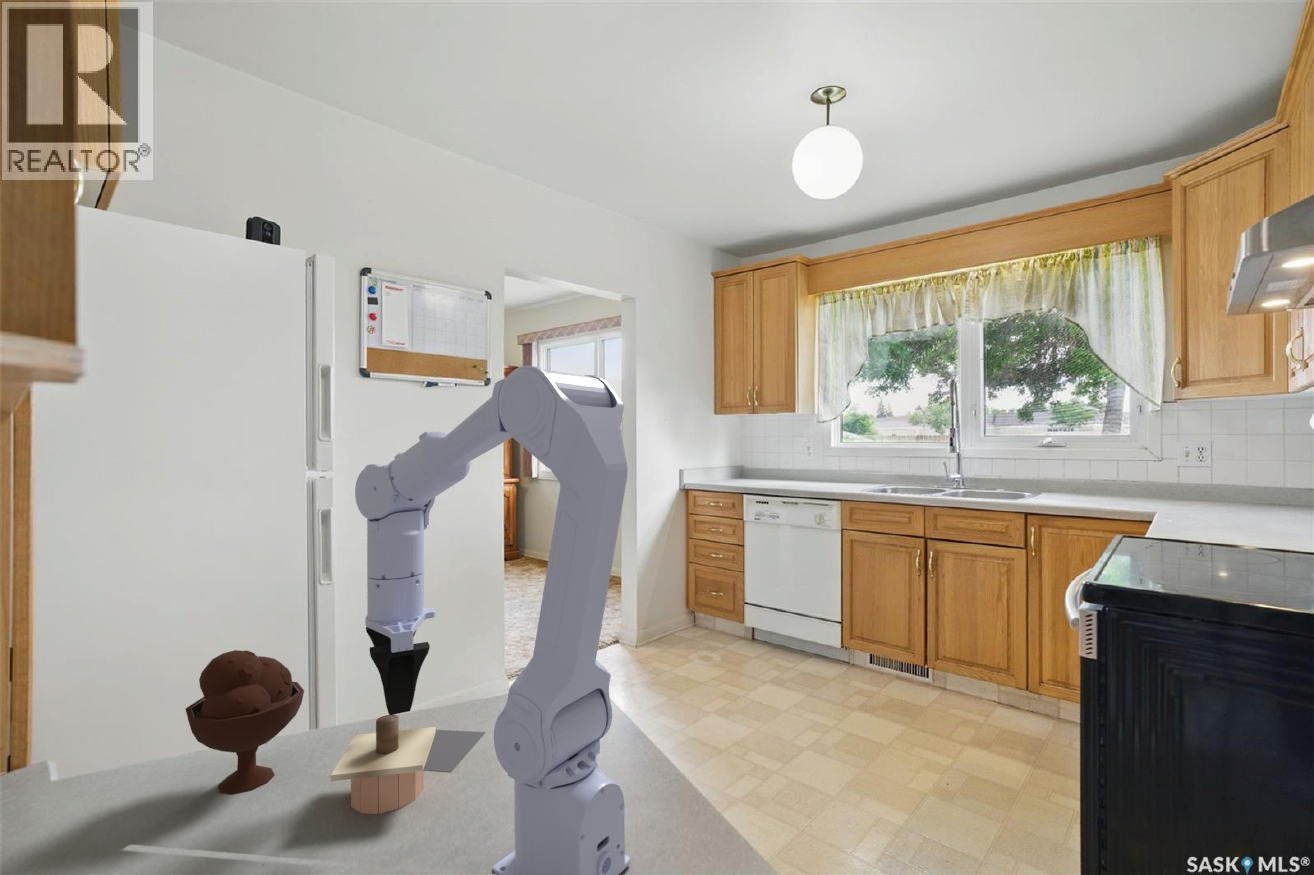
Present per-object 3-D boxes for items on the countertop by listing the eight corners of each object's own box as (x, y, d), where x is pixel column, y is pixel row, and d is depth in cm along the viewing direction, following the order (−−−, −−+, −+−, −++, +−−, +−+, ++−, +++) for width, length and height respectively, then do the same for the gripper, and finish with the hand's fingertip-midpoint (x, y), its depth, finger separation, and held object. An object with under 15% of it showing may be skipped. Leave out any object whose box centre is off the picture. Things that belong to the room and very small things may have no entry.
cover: (435, 732, 70) (435, 699, 70) (422, 771, 61) (422, 733, 61) (355, 740, 68) (355, 706, 68) (330, 781, 60) (330, 742, 60)
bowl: (436, 792, 66) (436, 750, 66) (374, 825, 60) (374, 779, 60) (399, 772, 70) (399, 733, 70) (338, 802, 64) (338, 759, 64)
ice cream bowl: (248, 818, 61) (248, 669, 61) (158, 806, 63) (158, 662, 64) (325, 764, 72) (325, 637, 72) (245, 755, 74) (245, 632, 74)
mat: (485, 735, 78) (485, 732, 78) (451, 775, 69) (451, 771, 69) (415, 731, 80) (415, 728, 80) (372, 770, 70) (372, 767, 70)
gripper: (444, 583, 62) (445, 716, 62) (426, 559, 75) (426, 670, 74) (368, 591, 59) (368, 732, 58) (362, 565, 71) (362, 681, 71)
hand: (396, 698), depth 66 cm, fingers open, 7 cm apart
